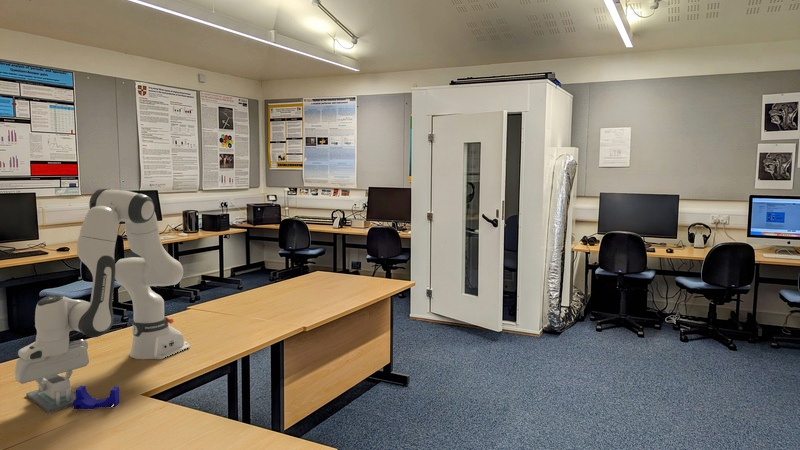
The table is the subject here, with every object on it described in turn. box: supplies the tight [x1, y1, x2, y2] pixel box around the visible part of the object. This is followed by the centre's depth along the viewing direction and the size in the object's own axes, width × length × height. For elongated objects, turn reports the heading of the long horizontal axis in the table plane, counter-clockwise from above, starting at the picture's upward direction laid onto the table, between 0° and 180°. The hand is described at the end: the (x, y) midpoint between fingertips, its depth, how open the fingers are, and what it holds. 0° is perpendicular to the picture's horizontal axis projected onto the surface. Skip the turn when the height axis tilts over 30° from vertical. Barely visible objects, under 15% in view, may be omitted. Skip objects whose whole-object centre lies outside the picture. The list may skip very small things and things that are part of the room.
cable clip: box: [72, 385, 121, 410], centre depth 167 cm, size 12×4×6 cm, turn 94°
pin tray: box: [25, 383, 76, 414], centre depth 170 cm, size 10×17×5 cm, turn 54°
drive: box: [41, 373, 71, 399], centre depth 170 cm, size 5×10×5 cm, turn 54°
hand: (54, 386), depth 170 cm, fingers closed on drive, 5 cm apart
